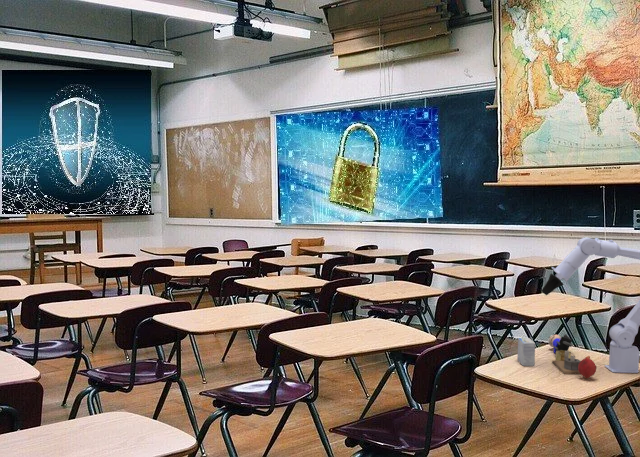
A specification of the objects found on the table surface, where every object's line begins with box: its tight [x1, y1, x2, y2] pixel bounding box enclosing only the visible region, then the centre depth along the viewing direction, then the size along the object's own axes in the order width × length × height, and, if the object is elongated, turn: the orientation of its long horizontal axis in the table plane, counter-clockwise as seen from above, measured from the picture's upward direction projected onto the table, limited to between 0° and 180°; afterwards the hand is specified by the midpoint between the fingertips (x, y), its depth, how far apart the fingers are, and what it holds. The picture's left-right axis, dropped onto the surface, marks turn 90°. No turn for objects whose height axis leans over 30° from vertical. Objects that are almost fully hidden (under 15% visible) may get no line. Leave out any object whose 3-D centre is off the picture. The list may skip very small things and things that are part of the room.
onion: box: [578, 355, 597, 380], centre depth 254 cm, size 6×6×8 cm
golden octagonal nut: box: [555, 350, 572, 361], centre depth 276 cm, size 5×5×4 cm
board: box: [551, 350, 582, 376], centre depth 266 cm, size 10×14×6 cm
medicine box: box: [516, 337, 536, 367], centre depth 272 cm, size 8×4×9 cm, turn 179°
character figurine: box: [547, 333, 573, 354], centre depth 287 cm, size 8×7×15 cm
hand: (543, 293), depth 267 cm, fingers open, 7 cm apart
